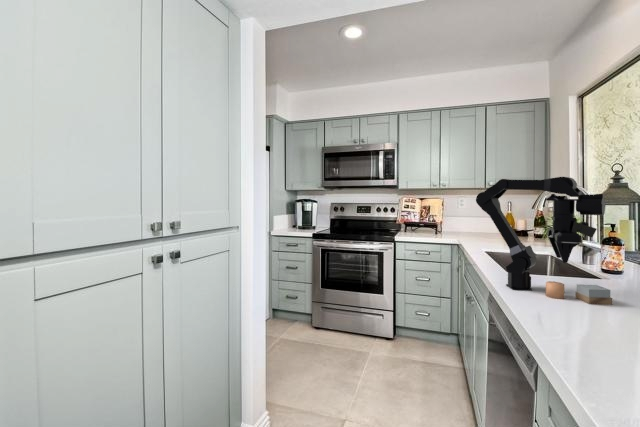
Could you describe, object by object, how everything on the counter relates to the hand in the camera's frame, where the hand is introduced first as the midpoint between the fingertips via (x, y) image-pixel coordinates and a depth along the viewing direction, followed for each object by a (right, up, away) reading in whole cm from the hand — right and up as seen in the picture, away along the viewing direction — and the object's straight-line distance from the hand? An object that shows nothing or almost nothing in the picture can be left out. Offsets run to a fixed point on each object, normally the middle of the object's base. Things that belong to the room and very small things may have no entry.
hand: (561, 260), depth 108 cm
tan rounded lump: (-3, -12, -1) cm, 13 cm away
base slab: (+6, -13, -6) cm, 15 cm away
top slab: (+5, -10, -6) cm, 13 cm away
